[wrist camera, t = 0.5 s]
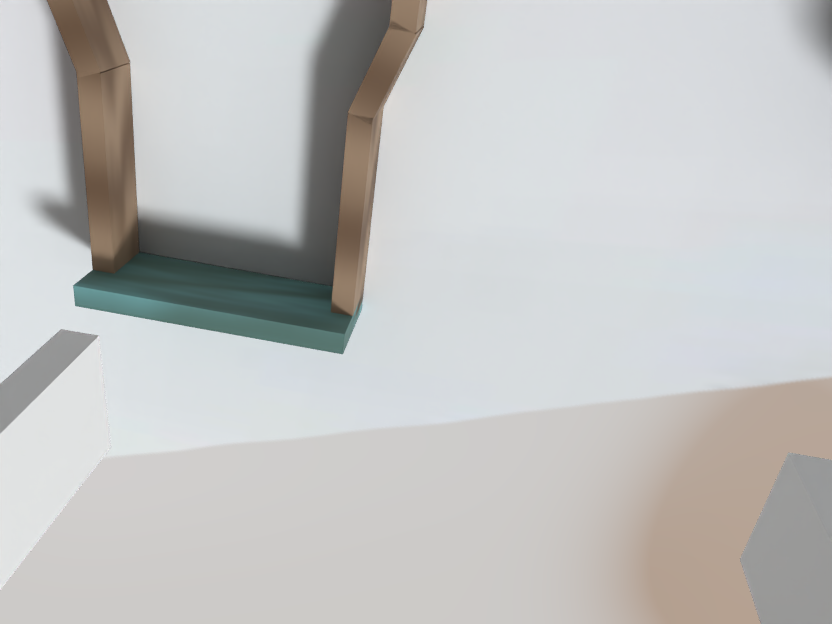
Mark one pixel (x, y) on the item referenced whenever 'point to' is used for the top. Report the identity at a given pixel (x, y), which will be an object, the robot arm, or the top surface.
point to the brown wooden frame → (201, 283)
